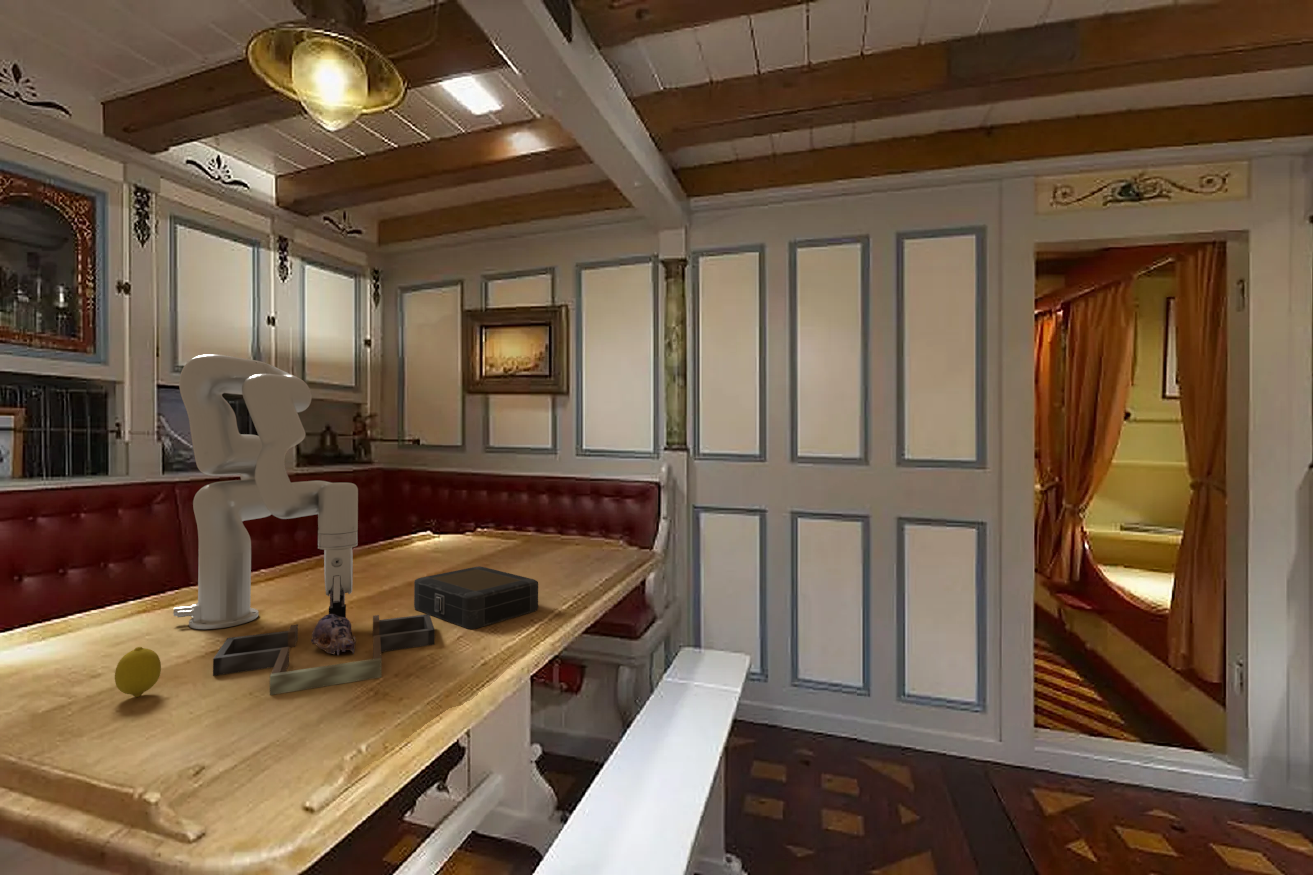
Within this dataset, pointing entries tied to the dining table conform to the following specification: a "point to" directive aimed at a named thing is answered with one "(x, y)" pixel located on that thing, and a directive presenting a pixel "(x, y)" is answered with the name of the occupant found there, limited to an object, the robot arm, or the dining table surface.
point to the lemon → (137, 671)
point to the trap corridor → (275, 653)
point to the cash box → (475, 596)
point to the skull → (333, 634)
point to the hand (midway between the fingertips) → (337, 624)
